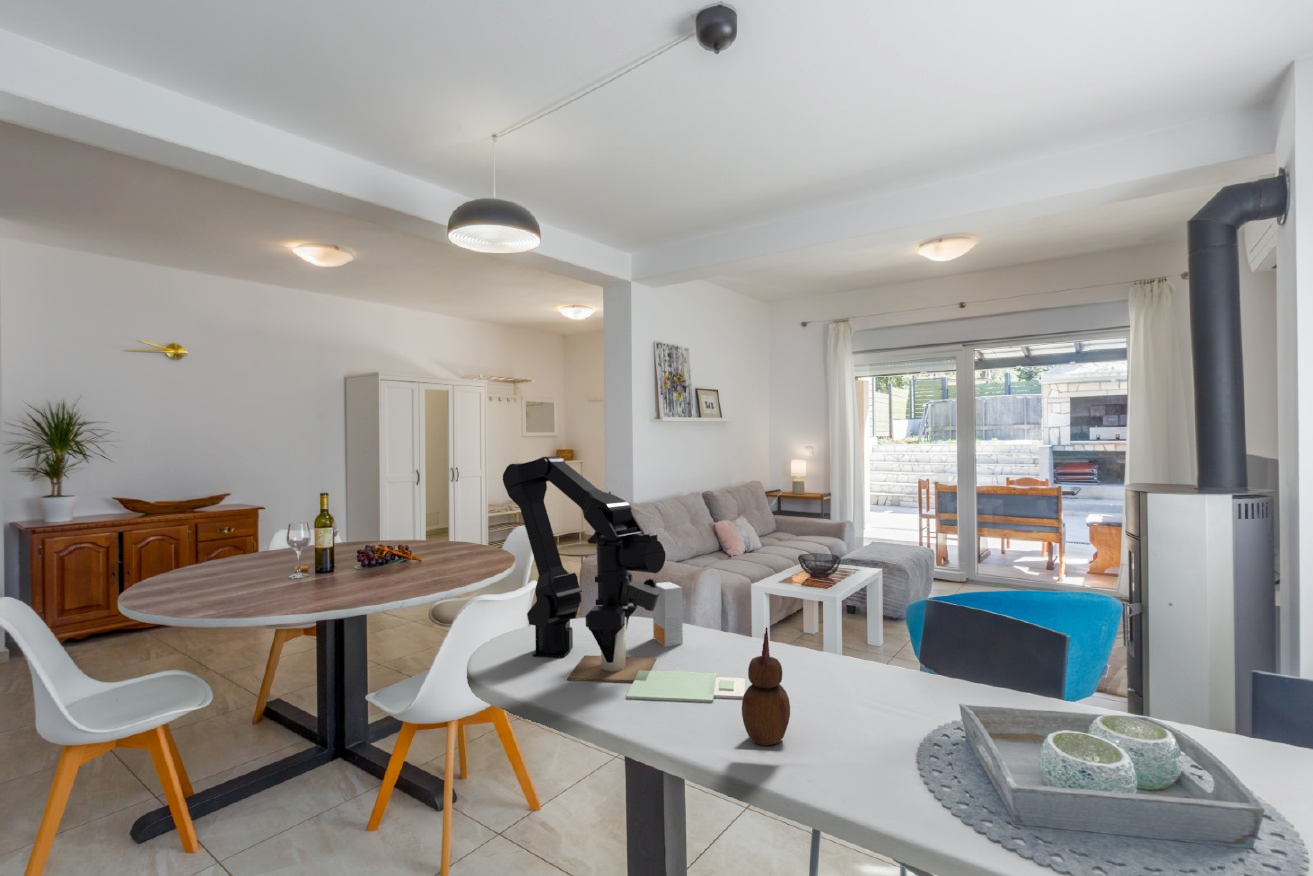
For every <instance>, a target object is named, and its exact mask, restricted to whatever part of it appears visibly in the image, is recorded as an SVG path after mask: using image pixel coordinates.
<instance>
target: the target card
mask: <svg viewBox="0 0 1313 876" xmlns="http://www.w3.org/2000/svg"><path fill="white" fill-rule="evenodd" d="M714 678H715V677H714ZM711 679H712V677H711ZM711 681H712V680H711ZM711 683H712V682H711ZM712 684H713V683H712ZM711 687H712V686H711ZM709 691H710V690H709ZM711 691H712V690H711ZM713 692H714V693H713V694H714V698H716V699H717V698H719V699H721V698H722V699H737V700H738V699H740V700H741V699H742V700H743V697H744V694H745V692H746V678H744V677H720V676H719V677H718V676H717V677H716V682H715V689H714V690H713ZM709 695H710V694H709Z"/></svg>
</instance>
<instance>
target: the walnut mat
mask: <svg viewBox="0 0 1313 876" xmlns="http://www.w3.org/2000/svg"><path fill="white" fill-rule="evenodd" d="M655 660H657V659H656V657H642V656H641V657H639V656H626V667H625V669H623V670H621V671H615V672H611V671H605V670H603V669H602V668H601V655H587V654H585V655H583V657H582V658H581V659H580V661H578V663H577V664H576V665H575V667H574V669H573V670H572V671H571V672H570V673H569V674H568V676H567V677H566V679H567V681H585V682H586V681H588V682H589V681H590V682H610V683H632V684H633V682H634V680H635V679H636V680H637V679H639V680H640V681H641V680H643V679H642V678H644V679H645V681H646V676H644V675H646V670H647V671H653V667H654V666H655V665H654V664H655V662H656V661H655ZM639 670H640V672H641V674H642V671H643V670H645V672H643V673H644V675H643V677H642V675H641V674H640V676H641V677H642V678H640V677H639V678H636V677H638V675H637V674H638V672H639ZM648 673H649V672H648ZM647 677H648V676H647ZM643 681H644V680H643Z"/></svg>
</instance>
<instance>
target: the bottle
mask: <svg viewBox="0 0 1313 876" xmlns="http://www.w3.org/2000/svg"><path fill="white" fill-rule="evenodd" d="M624 623H625V625H624V626H623V628H622V629H621V630H620V631H619V632H618V633H617V638H616V646H615V654H614V661H613V662H612V663H608V662H607V661H606V659H605V657H604V655H603V653H602V651H601V650H600V651H601V652H600V653H601V654H600V656H601V668H602V669H603V670H605V671H611V672H615V671H621V670H623V669H625V667H626V657H627V656H626V655H627V631H626V617H625V620H624Z"/></svg>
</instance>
